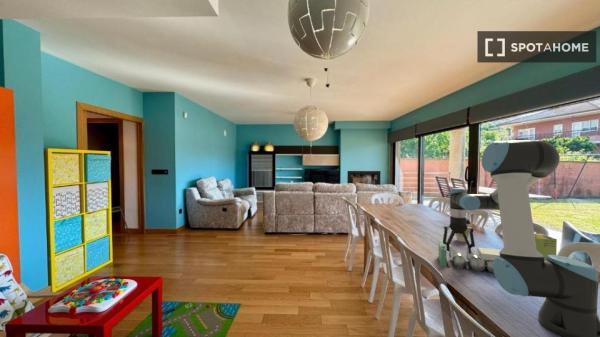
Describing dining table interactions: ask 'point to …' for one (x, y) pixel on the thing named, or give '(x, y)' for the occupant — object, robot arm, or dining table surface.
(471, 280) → the dining table surface
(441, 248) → the bar
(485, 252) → the slab
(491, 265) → the roller bed
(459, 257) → the roller
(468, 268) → the cradle
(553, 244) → the protein box
